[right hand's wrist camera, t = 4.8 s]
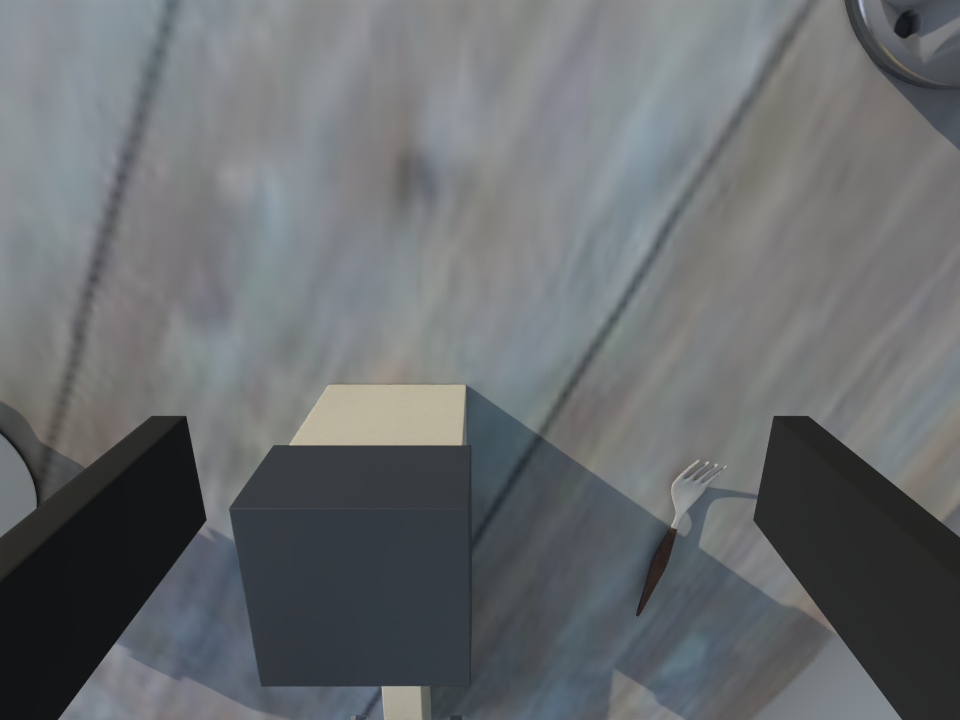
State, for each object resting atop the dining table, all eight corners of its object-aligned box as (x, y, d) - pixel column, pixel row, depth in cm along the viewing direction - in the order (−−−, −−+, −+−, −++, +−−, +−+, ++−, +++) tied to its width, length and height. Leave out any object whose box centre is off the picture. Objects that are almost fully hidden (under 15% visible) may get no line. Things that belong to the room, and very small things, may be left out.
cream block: (466, 384, 41) (462, 452, 32) (469, 721, 53) (466, 844, 43) (328, 384, 41) (283, 452, 32) (361, 721, 53) (336, 845, 43)
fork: (620, 608, 48) (626, 627, 46) (686, 446, 43) (696, 459, 41) (649, 614, 48) (656, 632, 46) (719, 453, 43) (730, 466, 41)
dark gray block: (471, 444, 32) (469, 508, 26) (471, 601, 35) (470, 686, 30) (273, 444, 32) (228, 508, 26) (295, 601, 35) (260, 687, 30)
